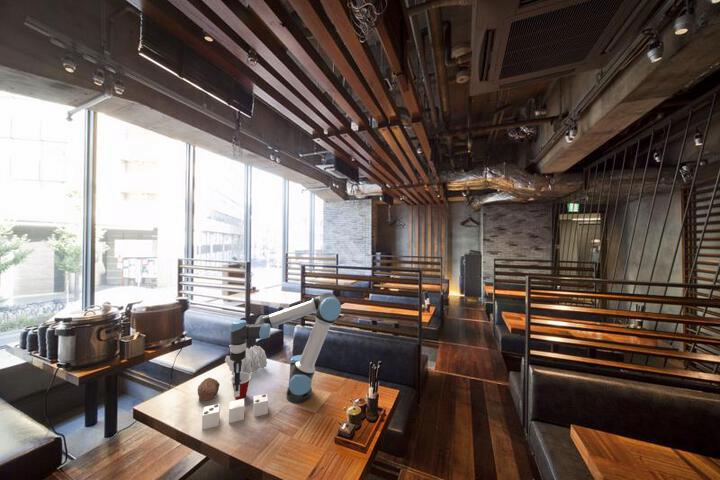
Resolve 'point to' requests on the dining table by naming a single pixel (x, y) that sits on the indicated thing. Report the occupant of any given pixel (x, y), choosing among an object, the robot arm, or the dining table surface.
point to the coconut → (208, 389)
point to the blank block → (236, 410)
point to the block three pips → (210, 416)
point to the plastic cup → (242, 384)
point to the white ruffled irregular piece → (250, 360)
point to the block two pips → (260, 405)
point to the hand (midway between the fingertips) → (236, 395)
